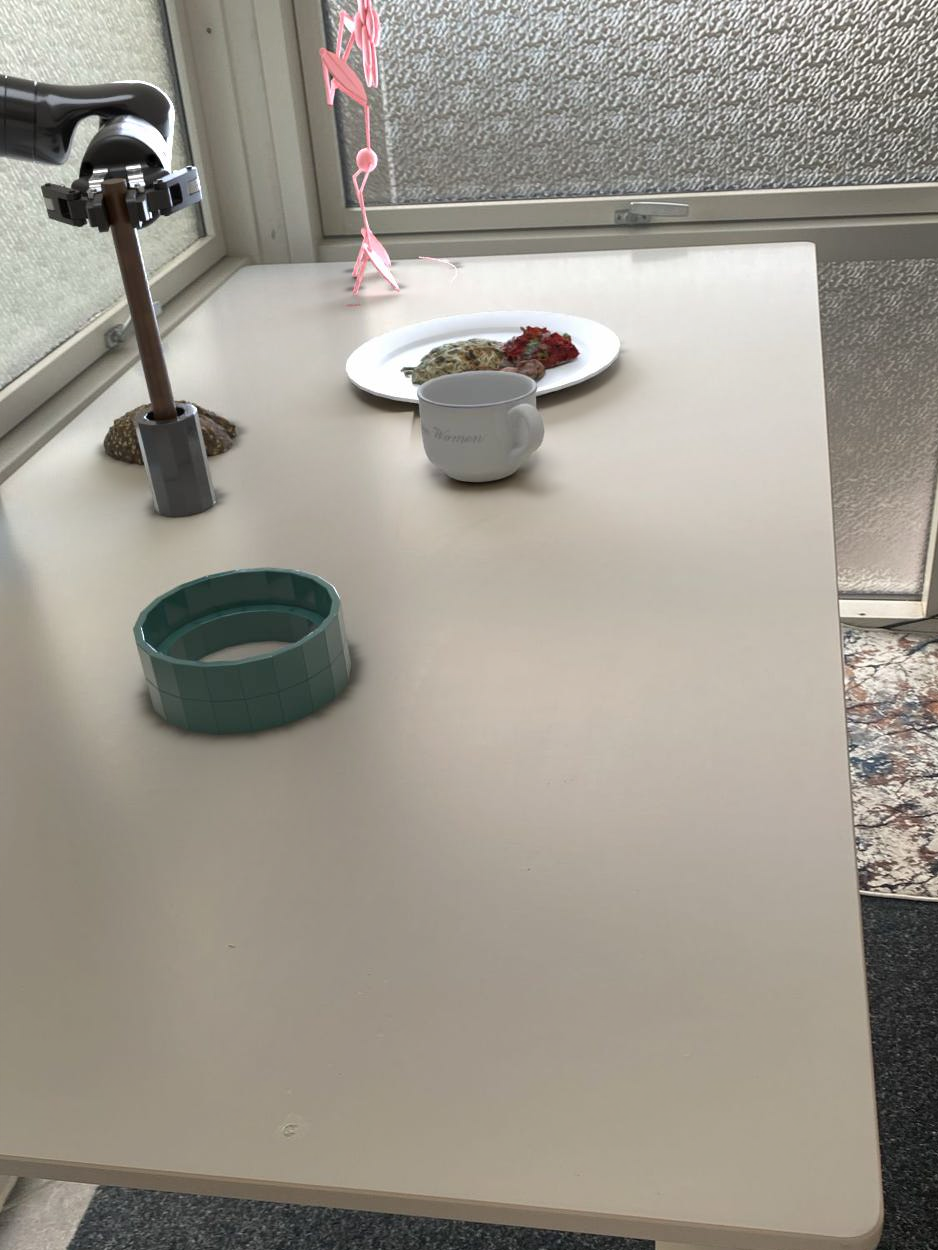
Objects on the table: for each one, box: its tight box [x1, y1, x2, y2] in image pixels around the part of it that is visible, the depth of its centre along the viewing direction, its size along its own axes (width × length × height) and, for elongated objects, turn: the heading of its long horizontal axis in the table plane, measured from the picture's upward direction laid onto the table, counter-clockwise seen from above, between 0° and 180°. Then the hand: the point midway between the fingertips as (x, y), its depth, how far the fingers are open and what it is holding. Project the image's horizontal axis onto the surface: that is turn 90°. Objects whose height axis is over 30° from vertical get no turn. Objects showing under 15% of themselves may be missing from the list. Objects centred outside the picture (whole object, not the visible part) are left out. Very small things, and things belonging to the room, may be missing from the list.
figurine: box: [318, 0, 461, 307], centre depth 167 cm, size 15×26×35 cm, turn 5°
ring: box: [132, 566, 352, 735], centre depth 94 cm, size 14×14×6 cm
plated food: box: [345, 310, 621, 404], centre depth 146 cm, size 30×30×3 cm
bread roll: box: [103, 399, 238, 466], centre depth 134 cm, size 13×12×5 cm
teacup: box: [417, 371, 545, 483], centre depth 121 cm, size 14×11×8 cm
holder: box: [134, 403, 217, 518], centre depth 119 cm, size 5×5×9 cm
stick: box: [100, 178, 178, 421], centre depth 111 cm, size 2×2×20 cm
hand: (116, 216), depth 104 cm, fingers closed on stick, 2 cm apart
